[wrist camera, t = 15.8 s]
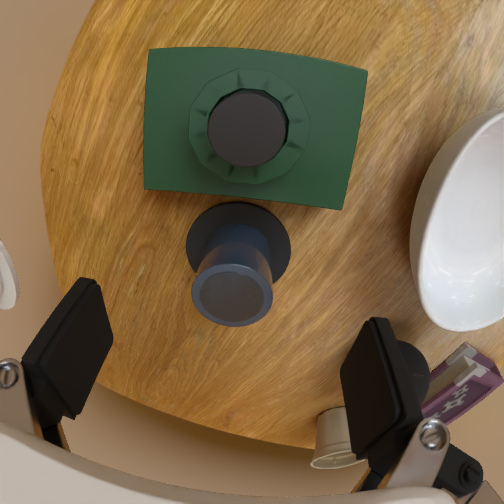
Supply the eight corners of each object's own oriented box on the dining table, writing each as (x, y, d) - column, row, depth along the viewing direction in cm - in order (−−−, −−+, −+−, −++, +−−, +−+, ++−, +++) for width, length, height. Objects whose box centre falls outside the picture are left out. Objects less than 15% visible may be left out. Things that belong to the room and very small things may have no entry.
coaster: (187, 285, 27) (186, 288, 27) (187, 196, 23) (186, 198, 22) (281, 296, 27) (281, 298, 27) (298, 208, 23) (299, 210, 23)
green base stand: (158, 177, 22) (133, 198, 18) (164, 54, 17) (137, 45, 12) (332, 195, 22) (348, 221, 18) (354, 73, 17) (378, 68, 13)
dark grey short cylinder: (211, 156, 17) (205, 164, 15) (216, 91, 14) (210, 90, 13) (278, 163, 17) (280, 171, 15) (287, 97, 15) (290, 98, 13)
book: (464, 341, 31) (477, 366, 27) (494, 361, 35) (505, 381, 31) (350, 426, 43) (353, 449, 39) (399, 432, 47) (403, 451, 42)
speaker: (342, 381, 35) (353, 445, 26) (335, 335, 30) (351, 413, 22) (410, 362, 33) (431, 422, 24) (417, 312, 28) (450, 381, 20)
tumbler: (205, 275, 26) (192, 322, 21) (206, 219, 23) (190, 259, 18) (266, 282, 26) (266, 331, 21) (275, 227, 23) (278, 269, 18)
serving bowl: (359, 288, 27) (379, 339, 21) (409, 64, 16) (459, 60, 10) (494, 292, 27) (519, 327, 21) (546, 138, 16) (586, 157, 10)
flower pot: (326, 430, 44) (330, 471, 36) (295, 417, 40) (298, 464, 33) (372, 411, 40) (381, 454, 33) (346, 395, 37) (355, 445, 29)
